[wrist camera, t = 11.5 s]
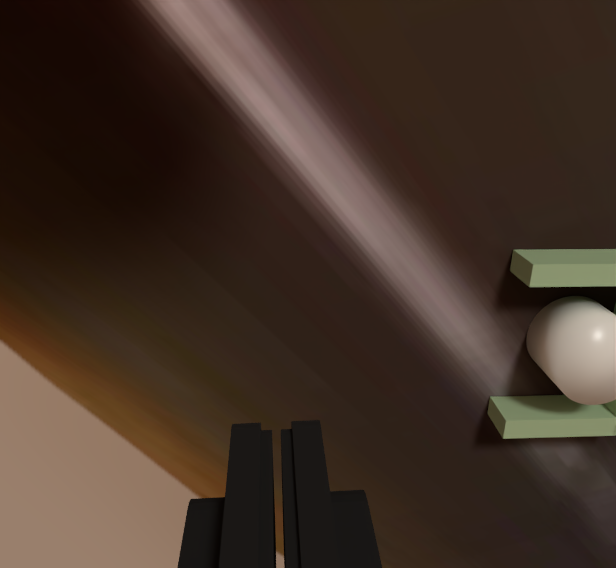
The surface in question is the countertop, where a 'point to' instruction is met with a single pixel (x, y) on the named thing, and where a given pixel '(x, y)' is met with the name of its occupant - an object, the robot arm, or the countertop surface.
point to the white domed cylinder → (576, 348)
